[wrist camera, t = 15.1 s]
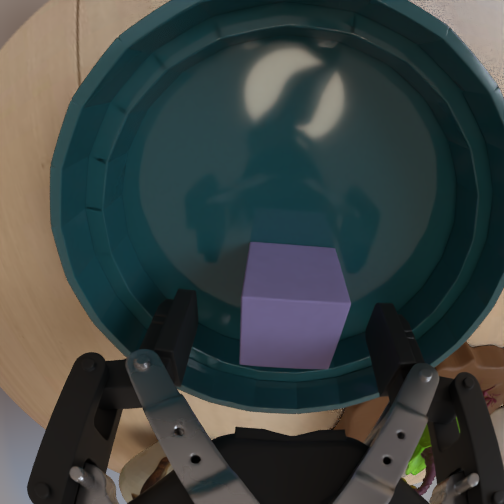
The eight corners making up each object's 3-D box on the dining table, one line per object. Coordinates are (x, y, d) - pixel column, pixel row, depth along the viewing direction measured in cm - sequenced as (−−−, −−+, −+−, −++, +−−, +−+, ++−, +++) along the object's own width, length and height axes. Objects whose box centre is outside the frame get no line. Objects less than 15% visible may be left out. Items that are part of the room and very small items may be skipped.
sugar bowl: (259, 475, 34) (252, 563, 22) (163, 465, 36) (145, 544, 23) (240, 421, 24) (222, 570, 12) (103, 404, 26) (62, 520, 13)
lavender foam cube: (250, 240, 14) (240, 296, 11) (335, 247, 14) (352, 303, 10) (246, 306, 16) (239, 365, 13) (320, 311, 16) (328, 370, 12)
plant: (452, 433, 27) (467, 502, 18) (314, 452, 28) (314, 537, 19) (541, 327, 17) (587, 417, 7) (370, 343, 18) (401, 508, 8)
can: (481, 414, 25) (502, 490, 15) (514, 400, 24) (537, 469, 14) (462, 435, 28) (477, 503, 18) (494, 422, 27) (512, 485, 17)
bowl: (96, 24, 9) (33, 15, 5) (497, 68, 8) (558, 77, 5) (136, 337, 19) (113, 388, 15) (408, 355, 18) (424, 406, 15)
